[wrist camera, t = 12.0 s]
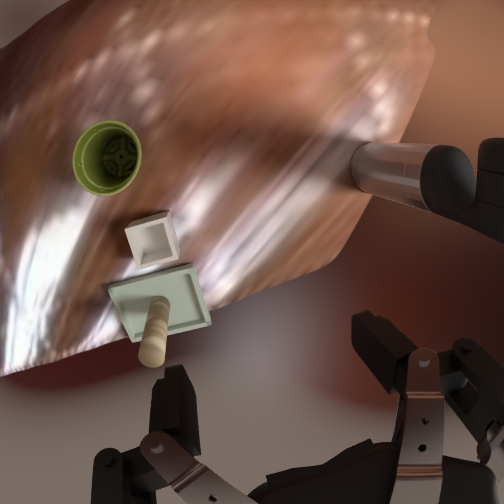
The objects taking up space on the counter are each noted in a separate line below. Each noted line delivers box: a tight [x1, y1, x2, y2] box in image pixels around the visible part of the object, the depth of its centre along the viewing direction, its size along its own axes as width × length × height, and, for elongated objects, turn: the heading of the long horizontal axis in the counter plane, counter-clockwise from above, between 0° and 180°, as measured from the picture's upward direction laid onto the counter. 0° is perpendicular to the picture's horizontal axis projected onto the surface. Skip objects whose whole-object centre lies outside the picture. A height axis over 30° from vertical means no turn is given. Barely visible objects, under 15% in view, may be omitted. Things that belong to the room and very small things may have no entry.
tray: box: [108, 263, 212, 342], centre depth 45 cm, size 15×11×2 cm
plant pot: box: [72, 120, 142, 196], centre depth 33 cm, size 9×9×9 cm
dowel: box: [138, 295, 170, 367], centre depth 38 cm, size 3×3×14 cm
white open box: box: [125, 210, 180, 270], centre depth 40 cm, size 6×6×5 cm
